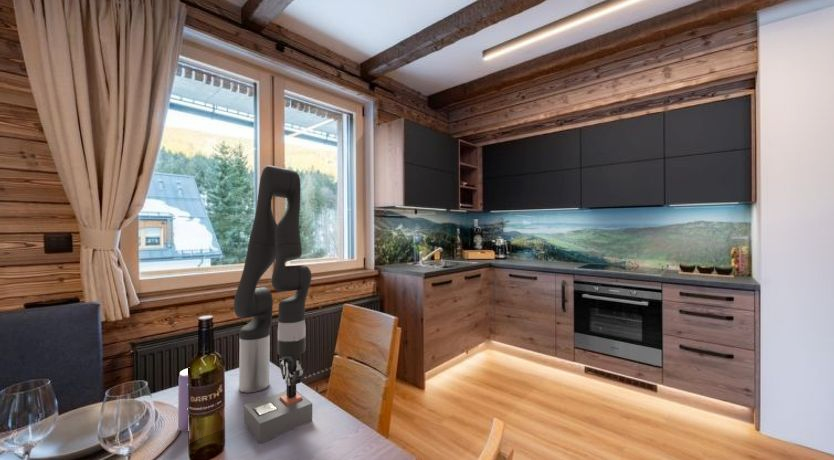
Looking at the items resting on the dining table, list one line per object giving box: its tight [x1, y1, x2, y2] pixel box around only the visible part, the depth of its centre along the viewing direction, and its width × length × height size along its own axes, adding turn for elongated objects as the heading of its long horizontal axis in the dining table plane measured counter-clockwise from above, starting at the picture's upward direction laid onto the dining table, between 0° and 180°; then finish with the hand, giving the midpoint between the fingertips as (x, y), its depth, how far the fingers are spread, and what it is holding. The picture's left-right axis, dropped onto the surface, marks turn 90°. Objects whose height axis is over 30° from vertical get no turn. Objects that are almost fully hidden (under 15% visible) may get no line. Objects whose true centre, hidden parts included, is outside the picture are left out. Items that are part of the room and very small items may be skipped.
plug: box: [254, 403, 277, 416], centre depth 88 cm, size 4×4×4 cm
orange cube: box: [280, 393, 302, 406], centre depth 93 cm, size 4×4×4 cm
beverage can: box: [177, 367, 189, 433], centre depth 89 cm, size 6×6×15 cm
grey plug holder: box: [243, 389, 313, 444], centre depth 91 cm, size 12×14×5 cm
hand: (291, 396), depth 93 cm, fingers closed
